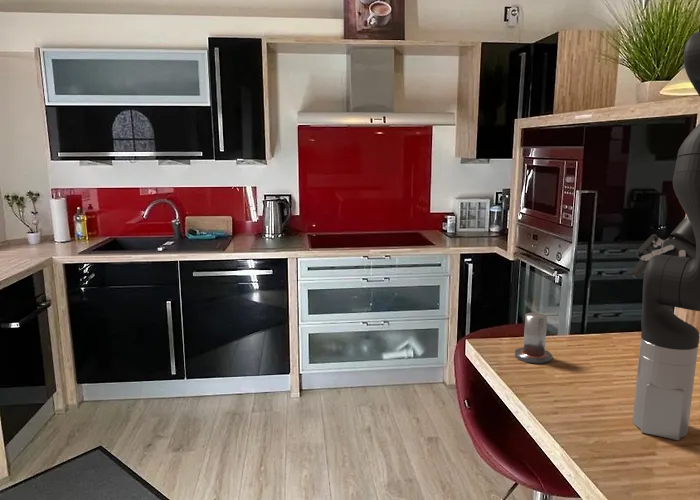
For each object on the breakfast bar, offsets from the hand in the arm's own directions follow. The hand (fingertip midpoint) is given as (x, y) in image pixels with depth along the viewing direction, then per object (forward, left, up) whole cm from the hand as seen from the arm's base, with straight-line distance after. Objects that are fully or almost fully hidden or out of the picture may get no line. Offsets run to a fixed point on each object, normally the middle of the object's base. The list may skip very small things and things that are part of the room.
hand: (651, 285), depth 114 cm
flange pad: (+6, +25, -23) cm, 34 cm away
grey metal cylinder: (+6, +24, -22) cm, 33 cm away
